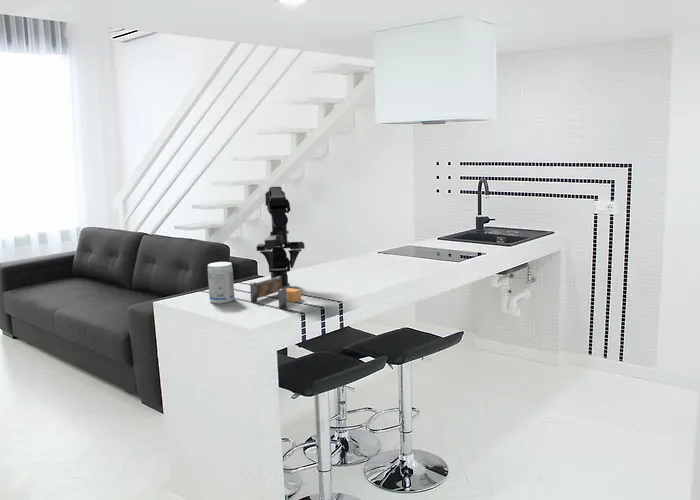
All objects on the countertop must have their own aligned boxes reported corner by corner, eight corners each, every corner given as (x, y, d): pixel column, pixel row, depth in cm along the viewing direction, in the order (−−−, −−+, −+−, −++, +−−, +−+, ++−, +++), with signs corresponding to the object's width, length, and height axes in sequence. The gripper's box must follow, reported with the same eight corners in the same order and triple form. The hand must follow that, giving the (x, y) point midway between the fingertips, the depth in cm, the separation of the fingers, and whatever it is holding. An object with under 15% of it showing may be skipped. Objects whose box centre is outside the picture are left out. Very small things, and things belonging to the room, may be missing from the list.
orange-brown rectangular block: (280, 300, 254) (280, 290, 253) (289, 297, 258) (288, 288, 257) (292, 302, 251) (292, 292, 250) (301, 299, 255) (300, 289, 254)
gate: (258, 299, 254) (257, 283, 253) (255, 299, 255) (255, 282, 253) (282, 291, 266) (281, 276, 265) (279, 291, 267) (279, 275, 266)
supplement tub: (225, 296, 262) (223, 260, 259) (239, 300, 255) (237, 263, 253) (204, 301, 255) (202, 264, 252) (219, 305, 248) (216, 267, 246)
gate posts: (249, 301, 253) (248, 283, 251) (255, 300, 255) (254, 282, 254) (282, 309, 240) (282, 290, 239) (288, 307, 242) (288, 288, 241)
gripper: (247, 229, 252) (249, 270, 252) (290, 227, 245) (292, 268, 245) (263, 230, 263) (265, 269, 263) (304, 227, 255) (306, 267, 255)
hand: (281, 268), depth 256 cm, fingers open, 9 cm apart
